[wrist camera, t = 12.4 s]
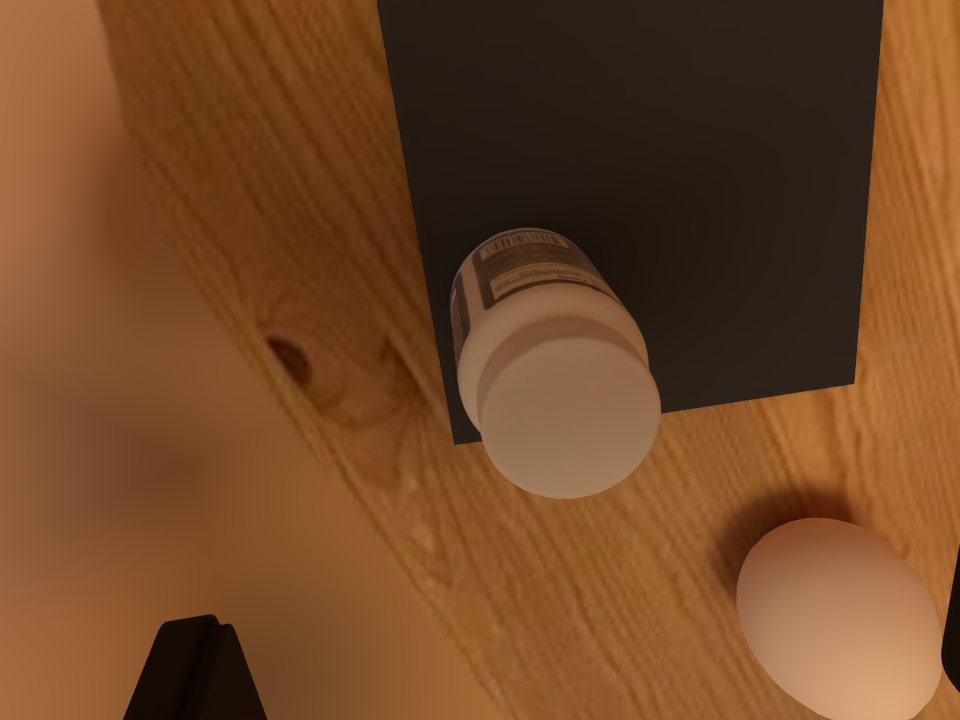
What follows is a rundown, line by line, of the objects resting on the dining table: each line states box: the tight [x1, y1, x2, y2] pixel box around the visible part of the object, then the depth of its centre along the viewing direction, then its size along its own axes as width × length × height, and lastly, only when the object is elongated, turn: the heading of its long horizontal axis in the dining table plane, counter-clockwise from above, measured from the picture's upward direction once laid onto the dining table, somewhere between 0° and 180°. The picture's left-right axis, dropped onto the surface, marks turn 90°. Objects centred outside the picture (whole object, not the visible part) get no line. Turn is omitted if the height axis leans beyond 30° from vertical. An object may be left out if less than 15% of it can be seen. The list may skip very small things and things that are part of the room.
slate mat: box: [377, 0, 884, 445], centre depth 23 cm, size 14×14×1 cm
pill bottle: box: [450, 228, 661, 499], centre depth 20 cm, size 5×5×8 cm
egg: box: [736, 518, 942, 720], centre depth 26 cm, size 6×6×8 cm
